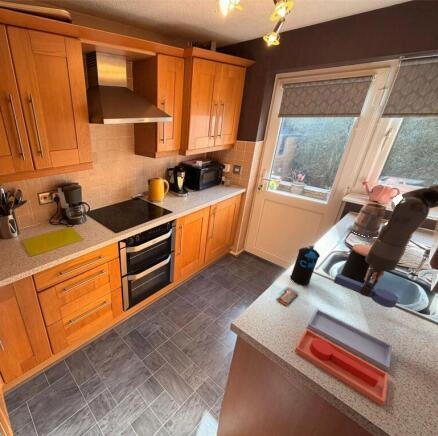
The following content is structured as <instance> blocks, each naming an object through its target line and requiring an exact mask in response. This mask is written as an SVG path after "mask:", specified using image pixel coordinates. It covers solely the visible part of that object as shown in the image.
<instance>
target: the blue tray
mask: <svg viewBox="0 0 438 436" xmlns="http://www.w3.org/2000/svg"><path fill="white" fill-rule="evenodd" d="M306 329H308V330H310V331H312V332H314V333H315V334H317V335H319V336H321V337H323V338H324V339H326V340H328V341H330V342H332V343H334V344H335V345H337V346H339V347H341V348H343V349H344V350H346V351H348V352H350V353H352V354H353V355H355V356H357V357H359V358H361V359H362V360H364V361H366V362H368V363H370V364H371V365H373V366H375V367H377V368H379V369H381V370H382V371H384V372H387V371H388V370H389V369H390V366H391V365H390V364H391V357H392V349H393V345H392V344H390V343H388V342H386V341H384V340H382V339H380V338H378V337H376V336H374V335H372V334H370V333H367V332H365V330H361V329H359V328H357V327H355V326H353V325H351V324H349V323H347V322H346V321H343V320H341V319H339V318H337V317H335V316H333V315H331V314H329V313H328V312H325V311H323V310H320V309H319V308H316V309H315V311H314V312H313V315H312V317H311V318H310V320H309V322H308V324H307V326H306Z"/></svg>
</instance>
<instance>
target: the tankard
mask: <svg viewBox="0 0 438 436" xmlns="http://www.w3.org/2000/svg"><path fill="white" fill-rule="evenodd" d="M386 209H387V206H385V205H382V204H379V203H373V202H365V203H364V205H363V206H362V207H361V208H360V210H359V213H358V214H357V217H356V219H355V220H354V222H353V225H350V226H349V227H347V231H348V232H350V231H353V232H355V233H357V234H360V235H363V236H365V237H368V236H369V237H377V236H378V234H379V231H380V229H381V224H382V221H383V220H384V217H385V216H386ZM365 237H364V238H365Z"/></svg>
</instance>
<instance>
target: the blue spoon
mask: <svg viewBox="0 0 438 436" xmlns="http://www.w3.org/2000/svg"><path fill="white" fill-rule="evenodd" d="M333 284H336V285H339V286H341V287H343V288H345V289H348V290H351V291H353V292H356V293H358V294H360V291H361V290H362V288H363V284H362V283H360V282H357V281H355V280H352V279H350V278H347V277H345V276H342V275H340V273H337V274H336V275H335V277H334V279H333ZM366 298H369V299H371V300H372V301H373V302H374V303H376V304H378V305H380V306H381V307H385V308H389V309H392V308H394V307H396V305H397V303H398V301H399V297H398V296H397V295H396V294H394V293H393V292H391V291H390V290H387V289H385V288H375V287H374V289H373V290H371V291H370V293H369V295H368V296H367V297H366Z"/></svg>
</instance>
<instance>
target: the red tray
mask: <svg viewBox="0 0 438 436" xmlns="http://www.w3.org/2000/svg"><path fill="white" fill-rule="evenodd" d="M316 338H318V339H322V340H324V341H326V342H327V343H329V344H330V345H331V346H332V348H333V350H335V351H336V352H338V353H340V354H342V355H344V356H345V357H347V358H349V359H351V360H352V361H354V362H356V363H358V364H359V365H361V366H363V367H365V368H366V369H368V370H370V371H372V372H374V373H375V374H377V375H379V381H378V383H377V384H376V386H375V387H373V386H371V385H369V384H368V383H366V382H364V381H363V380H361V379H359V378H358V377H356V376H354V375H353V374H351V373H349V372H348V371H346V370H344V369H343V368H341V367H339V366H337V365H336V364H334V363H332V362H331V361H330V360H328V361H324V360H321V359H319V358H317V357H315V356H314V355H313V354H312V353H311V351H310V345H311V342H312V340H313V339H316ZM294 352H296V353H297V354H298V355H300V356H302V357H303V358H305V359H306V360H308V361H310V362H311V363H313V364H314V365H316V366H318V367H319V368H321V369H322V370H324V371H325V372H327V373H328V374H330V375H332V376H333V377H335V378H336V379H338V380H340V381H341V382H343V383H344V384H346V385H348V386H350V387H351V388H353V389H354V390H356V391H357V392H358V393H360V394H362V395H364V396H365V397H366V398H368V399H370V400H372V401H373V402H375V403H376V404H378V405H379V406H381V407H383V406H384V404H385V403H386V397H387V396H386V395H387V390H388V389H387V388H388V381H389V373H388V372H387V371H385V370H383V369H382V368H380V367H378V366H376V365H374V364H372V363H371V362H369V361H367V360H365V359H363V358H362V357H360V356H358V355H356V354H354V353H352V352H351V351H349V350H347V349H345V348H343V347H342V346H340V345H338V344H336V343H334V342H332V341H331V340H329V339H327V338H325V337H323V336H321V335H320V334H318V333H316V332H314V331H312V330H311V329H309V328H305V330H304V331H303V333H302V335H301V337H300V339H299V341H298V343H297V345H296V347H295V349H294ZM330 359H331V358H330Z"/></svg>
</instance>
